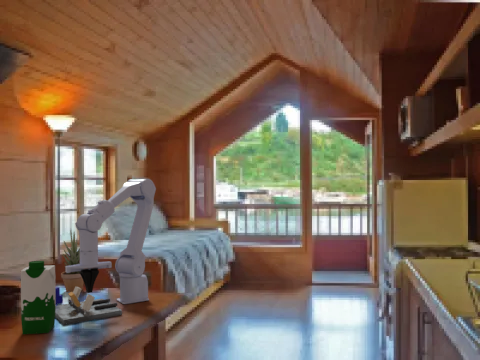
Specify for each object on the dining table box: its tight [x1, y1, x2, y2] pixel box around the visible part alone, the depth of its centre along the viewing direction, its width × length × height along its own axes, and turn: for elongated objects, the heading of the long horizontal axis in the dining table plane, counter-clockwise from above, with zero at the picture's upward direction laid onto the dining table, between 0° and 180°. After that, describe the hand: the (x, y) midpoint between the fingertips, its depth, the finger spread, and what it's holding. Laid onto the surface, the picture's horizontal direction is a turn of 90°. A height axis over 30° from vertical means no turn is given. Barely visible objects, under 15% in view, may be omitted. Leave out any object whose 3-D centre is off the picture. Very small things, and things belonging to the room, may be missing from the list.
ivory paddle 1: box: [69, 286, 83, 300], centre depth 157 cm, size 1×4×4 cm, turn 35°
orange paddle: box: [67, 292, 81, 307], centre depth 150 cm, size 1×4×4 cm, turn 35°
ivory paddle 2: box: [82, 293, 96, 311], centre depth 145 cm, size 1×4×4 cm, turn 35°
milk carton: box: [20, 260, 56, 335], centre depth 134 cm, size 9×9×20 cm
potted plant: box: [60, 229, 85, 293], centre depth 184 cm, size 10×10×25 cm
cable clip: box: [55, 286, 64, 305], centre depth 165 cm, size 12×4×6 cm, turn 67°
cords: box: [92, 298, 118, 309], centre depth 155 cm, size 8×8×1 cm
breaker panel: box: [55, 298, 123, 326], centre depth 152 cm, size 18×20×3 cm
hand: (89, 292), depth 152 cm, fingers closed
